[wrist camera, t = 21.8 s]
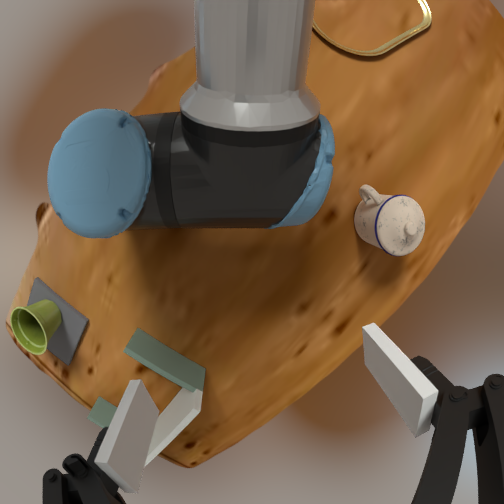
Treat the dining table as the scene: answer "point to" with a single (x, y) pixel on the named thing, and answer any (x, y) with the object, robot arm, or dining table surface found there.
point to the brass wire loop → (390, 44)
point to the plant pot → (35, 325)
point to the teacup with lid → (389, 221)
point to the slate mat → (71, 324)
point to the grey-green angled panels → (171, 368)
